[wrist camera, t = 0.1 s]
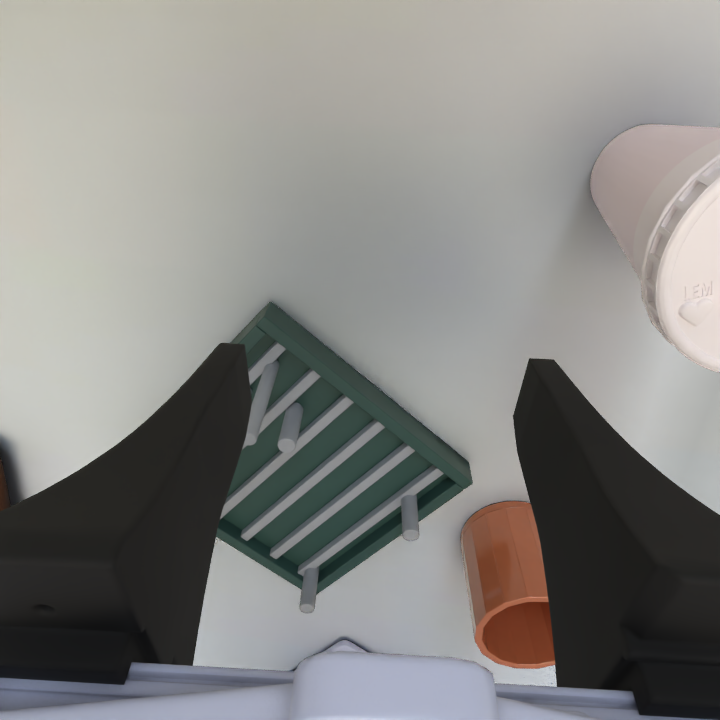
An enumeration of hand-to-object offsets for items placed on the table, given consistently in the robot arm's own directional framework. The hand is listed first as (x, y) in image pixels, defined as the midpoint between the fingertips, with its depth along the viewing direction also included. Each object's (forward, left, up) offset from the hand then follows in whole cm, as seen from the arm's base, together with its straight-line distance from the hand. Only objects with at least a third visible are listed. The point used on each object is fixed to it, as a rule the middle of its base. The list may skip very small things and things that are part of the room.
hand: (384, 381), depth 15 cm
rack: (-11, -5, -11) cm, 16 cm away
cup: (-7, -17, -11) cm, 21 cm away
